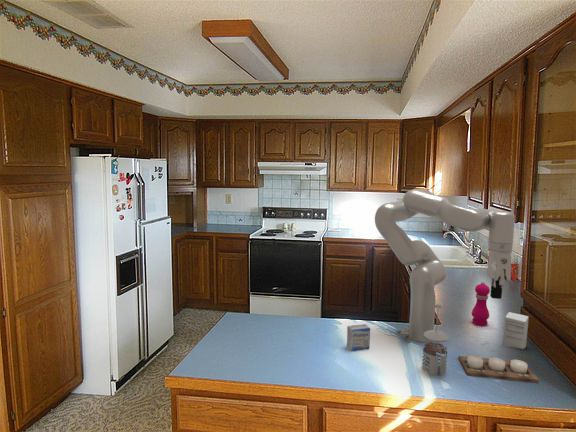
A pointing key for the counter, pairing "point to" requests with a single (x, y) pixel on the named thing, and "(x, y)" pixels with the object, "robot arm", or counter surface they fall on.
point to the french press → (435, 350)
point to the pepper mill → (481, 305)
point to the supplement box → (515, 330)
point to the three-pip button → (474, 362)
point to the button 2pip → (518, 366)
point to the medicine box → (358, 337)
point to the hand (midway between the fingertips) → (495, 297)
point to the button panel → (497, 374)
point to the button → (496, 364)
